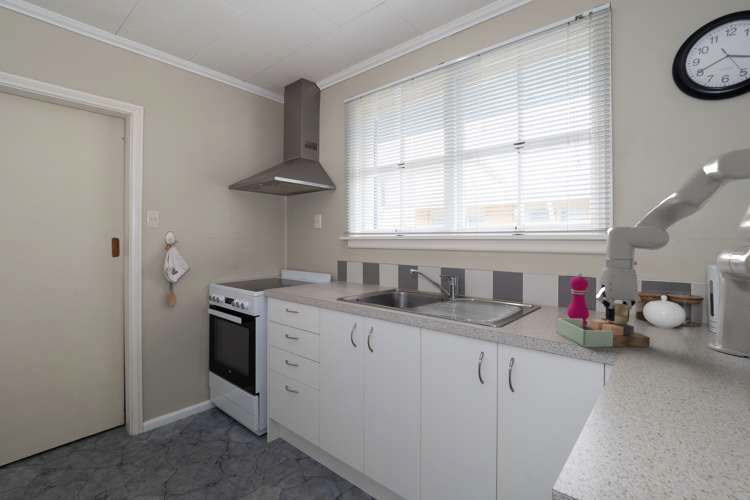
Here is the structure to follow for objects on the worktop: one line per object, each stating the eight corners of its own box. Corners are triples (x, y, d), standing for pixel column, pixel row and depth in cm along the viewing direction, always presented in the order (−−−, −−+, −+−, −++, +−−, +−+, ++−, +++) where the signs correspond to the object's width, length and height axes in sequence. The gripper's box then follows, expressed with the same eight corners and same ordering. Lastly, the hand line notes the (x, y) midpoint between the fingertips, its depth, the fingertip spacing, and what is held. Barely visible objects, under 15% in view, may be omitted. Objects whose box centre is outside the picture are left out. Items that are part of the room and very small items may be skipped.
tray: (581, 332, 122) (582, 318, 122) (612, 347, 106) (613, 331, 106) (556, 332, 122) (556, 318, 122) (583, 347, 106) (584, 330, 106)
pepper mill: (592, 327, 129) (594, 274, 128) (573, 327, 129) (575, 273, 128) (581, 322, 136) (583, 272, 135) (563, 322, 136) (564, 271, 136)
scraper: (611, 325, 119) (612, 301, 119) (635, 334, 108) (636, 307, 108) (599, 325, 119) (600, 300, 119) (622, 334, 108) (623, 307, 108)
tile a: (614, 331, 112) (614, 324, 112) (623, 335, 108) (623, 327, 108) (602, 331, 113) (602, 323, 112) (610, 335, 109) (610, 327, 108)
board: (617, 334, 121) (618, 325, 121) (649, 347, 107) (649, 337, 107) (583, 333, 121) (583, 325, 121) (610, 346, 107) (610, 336, 107)
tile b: (602, 326, 119) (602, 319, 119) (610, 330, 115) (610, 322, 115) (590, 326, 119) (590, 319, 119) (597, 329, 115) (598, 322, 115)
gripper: (636, 264, 116) (634, 318, 117) (586, 263, 117) (584, 317, 117) (654, 266, 109) (651, 323, 110) (601, 265, 109) (598, 322, 110)
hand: (617, 319), depth 114 cm, fingers closed on scraper, 4 cm apart
